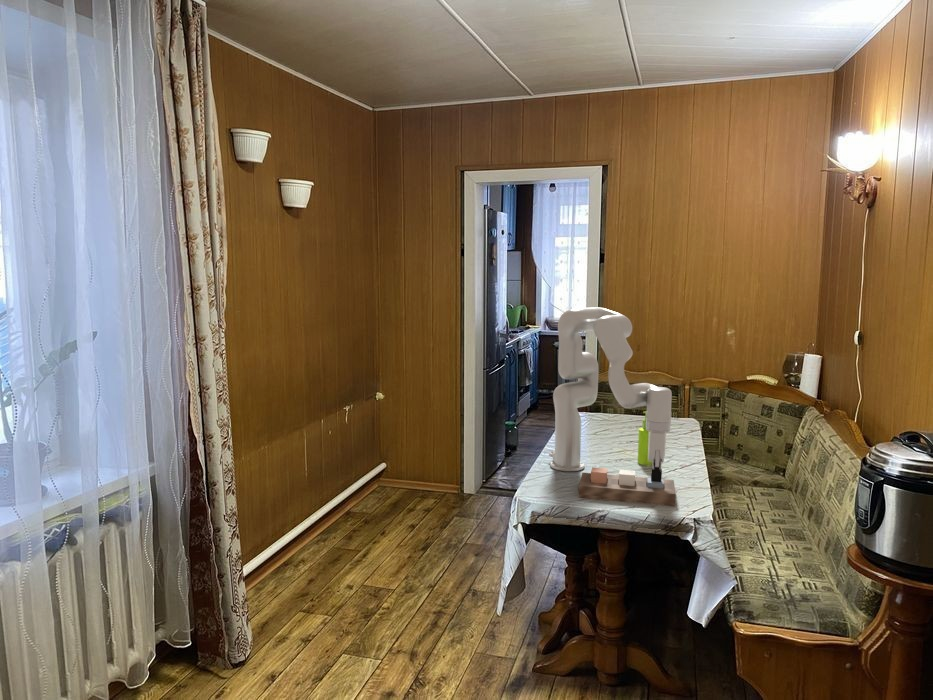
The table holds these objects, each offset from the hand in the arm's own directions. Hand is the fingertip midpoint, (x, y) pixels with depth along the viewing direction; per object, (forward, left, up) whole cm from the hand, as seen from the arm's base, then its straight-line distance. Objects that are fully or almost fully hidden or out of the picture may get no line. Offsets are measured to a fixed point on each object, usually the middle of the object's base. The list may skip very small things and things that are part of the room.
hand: (656, 480), depth 216 cm
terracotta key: (-14, -12, -2) cm, 18 cm away
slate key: (0, 0, -4) cm, 4 cm away
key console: (-7, -6, -6) cm, 11 cm away
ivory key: (-7, -6, -2) cm, 9 cm away
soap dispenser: (-26, +27, -6) cm, 38 cm away
